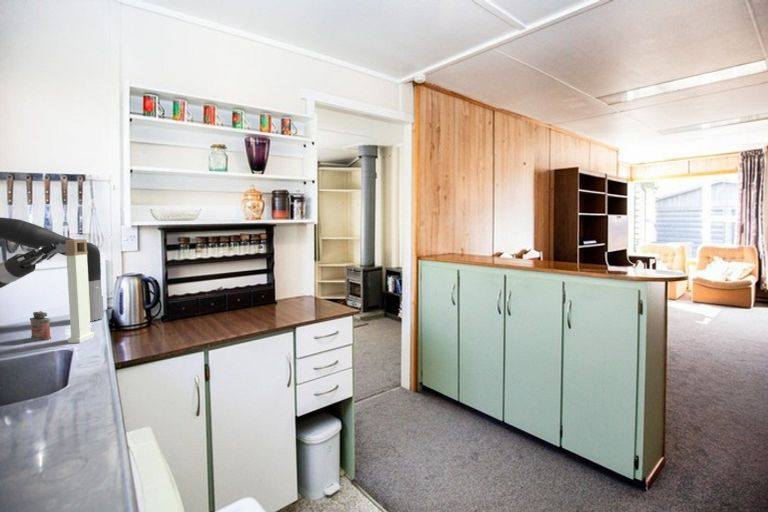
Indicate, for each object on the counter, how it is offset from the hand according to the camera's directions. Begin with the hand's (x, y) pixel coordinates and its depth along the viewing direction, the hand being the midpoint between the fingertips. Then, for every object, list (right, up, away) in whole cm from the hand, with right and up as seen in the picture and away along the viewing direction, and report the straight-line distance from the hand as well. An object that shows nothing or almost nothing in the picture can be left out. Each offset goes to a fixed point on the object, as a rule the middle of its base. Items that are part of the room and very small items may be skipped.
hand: (57, 245), depth 144 cm
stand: (+6, -34, +4) cm, 35 cm away
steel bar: (+1, -3, 0) cm, 3 cm away
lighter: (-9, -34, +4) cm, 36 cm away
